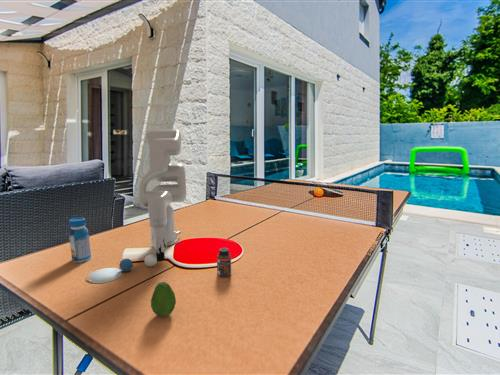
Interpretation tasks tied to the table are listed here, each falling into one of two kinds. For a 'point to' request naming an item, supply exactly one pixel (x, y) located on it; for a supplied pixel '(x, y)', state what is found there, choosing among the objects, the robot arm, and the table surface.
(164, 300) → the avocado
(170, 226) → the robot arm
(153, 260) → the cue ball
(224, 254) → the supplement bottle
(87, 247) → the blue medicine bottle
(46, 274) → the table surface
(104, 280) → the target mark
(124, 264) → the object ball
